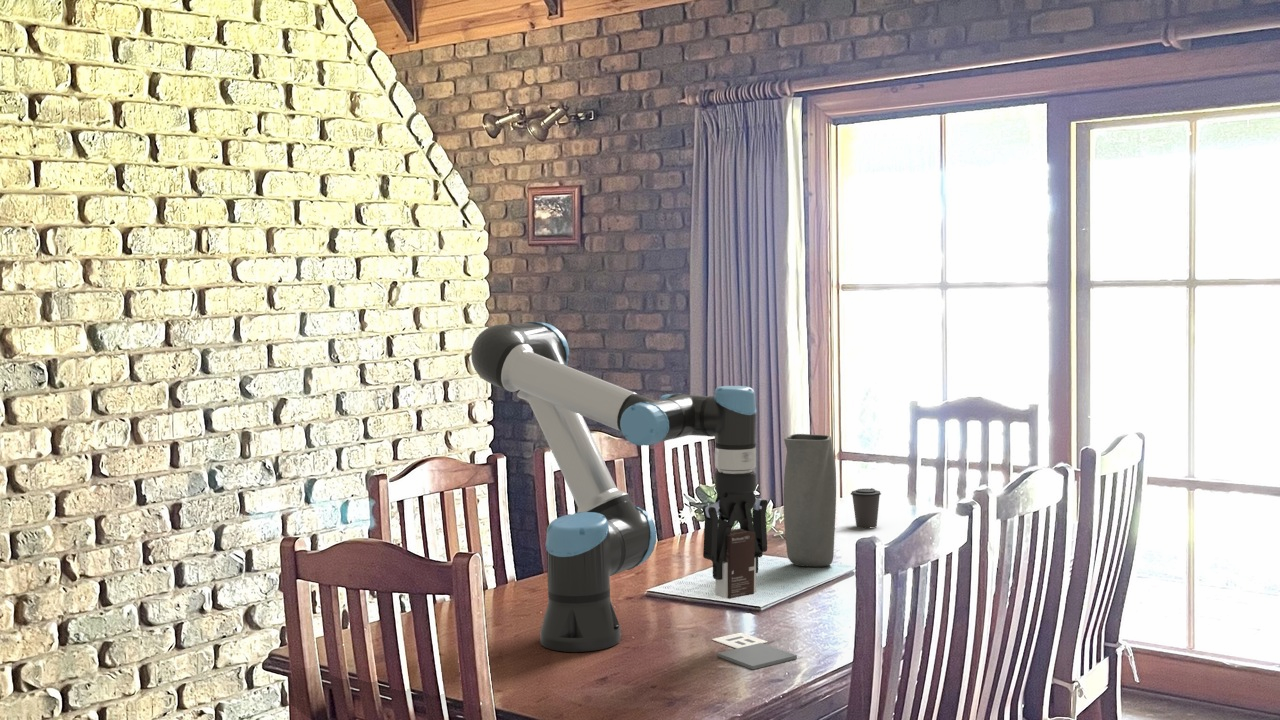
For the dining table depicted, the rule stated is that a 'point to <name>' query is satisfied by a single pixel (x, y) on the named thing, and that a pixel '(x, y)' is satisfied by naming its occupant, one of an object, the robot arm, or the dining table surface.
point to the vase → (809, 499)
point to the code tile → (739, 640)
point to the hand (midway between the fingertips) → (735, 593)
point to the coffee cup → (866, 507)
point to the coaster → (757, 656)
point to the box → (740, 562)
